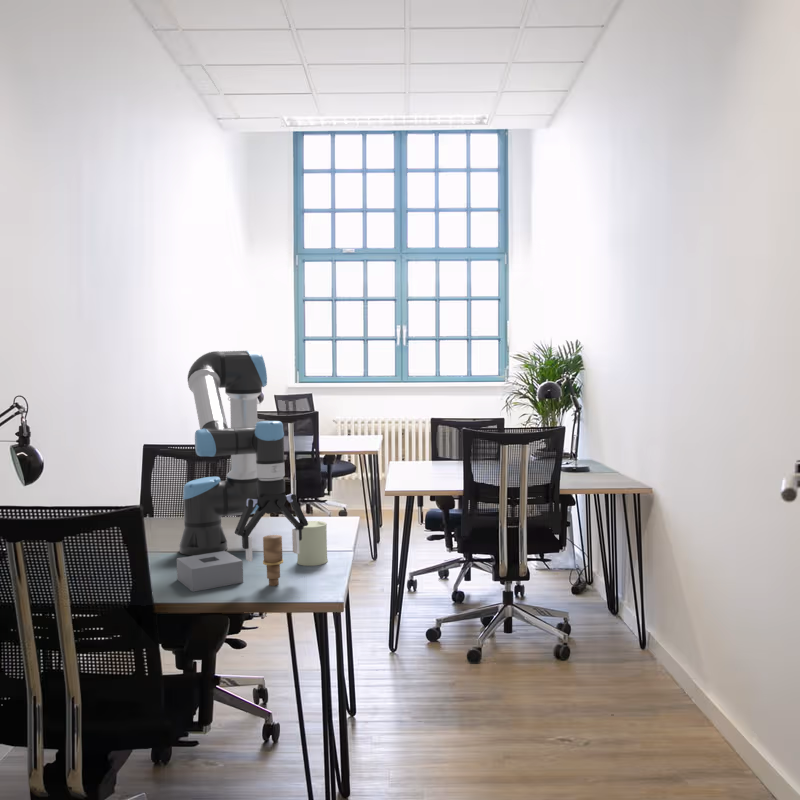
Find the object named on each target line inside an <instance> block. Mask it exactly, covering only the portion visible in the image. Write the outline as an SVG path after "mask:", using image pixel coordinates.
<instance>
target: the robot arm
mask: <svg viewBox="0 0 800 800" xmlns="http://www.w3.org/2000/svg"><path fill="white" fill-rule="evenodd" d="M187 385H188V388H189V390H190V392H191V393H192V394H193V397H194V398H193V399H194V404H195V409H196V414H197V418H198V419H197V420H198V426H199V429H197V430H195V432H194V447H195V454H196V455H197V456H199V457H210V458H213V457H222V456H230V461H231V464H230V466H231V467H230V469H231V470H230V471H229V472H228V473H226V479H225V480H221V478H220V476H215V475H214V476H207V477H201V478H197V479H193V480H190V481H187V482H186V483H185V484H184V485H183V496H182V500H183V516H184V517H183V518H184V519H183V521H184V524H183V526H184V528H183V532H182V534H181V535H182V536H181V538H180V542H179V545H178V547H179V553H180V554H181V555H183V556H185V555H186V556H195V555H202V554H208V553H214V552H221V551H226V550H227V549H228V540H227V536H226V534H225V531H224V529H223V526H222V517H231V516H240V519H239V520H238V523H237V526H236V527H235V531H234V534H235V535H237V536H238V537H239V536H240V537H241V544H242V545H241V546H242V549H244V550H245V560H246V561H247V562H253V539H252V536H250V535H251V534H252V532H253V530H255V528H256V526H257V524H258V523H259V522H260V520H261V519H262V517H264V516H265V514H268V515H269V514H273V513H275V514H276V513H277V514H278V513H280V512H281V514H282V515H283V516H284V517H285V518H286V519H287V520H288V522H290V524H291V525H293V528H291V533H292V537H291V538H292V541H291V542H292V553H294V554H296V555H298V554H299V541H300V540H302V529H303V528H304V526H307V525H308V522H307V518H306V516H305V515H304V512H303V511H302V510H303V509H301V507H300V505H299V502H298V499H297V498H298V497H297V494H295V493H292V492H291V493H290V492H289V494H287V495H286V479H285V478H284V477H285V475H286V473H285V469H286V468H285V441H284V440H285V439H284V438H285V432H284V424H283V422H282V421H280V420H262V421H258V397H259V396H260V395H261V394H262V392H263V390H262V389H263V388H265V387H267V385H268V374H267V368H266V364H265V360H264V356H263V355H262V354H261V353H260V352H259V351H254V350H232V351H231V350H228V351H218V350H217V351H209V352H207V353H204V354H202V355H200V357H198V358H197V359H196V360H195V361H194V362H193V363H192V365H191V366H190V368H189V371H188V373H187ZM221 388H222V389H223V388H224V389H225V390H224V391H225V394H226V395H227V396H228V397H229V400H230V401H229V402H230V403H229V405H230V408H229V409H230V410H229V411H230V427H229V426H228V421H227V418H226V414H225V411H224V405H223V401H222V397H221V394H220V393H221V392H220V390H219V389H221ZM286 502H288V503H289V504H290V506H291V508H292V510H293V511H294V514H295V516H296V517H295V516H294V515H293V514H292V512H290V510H289V509H288V508H287V507H286V505H285V503H286ZM251 515H253V516H252V517H251ZM250 517H251V518H250ZM249 518H250V520H249ZM297 519H298V520H297Z"/></svg>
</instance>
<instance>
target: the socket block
mask: <svg viewBox="0 0 800 800" xmlns="http://www.w3.org/2000/svg"><path fill="white" fill-rule="evenodd" d="M243 566H244V561H243V560H242V559H240V558H239V557H237V556H235V555H233V554H231V553H230V552H228V551H226V550H225V551H221V552H214V553H208V554H202V555H188V556H183V557H178V558H176V579H177V581H179V582H180V583H181V584H182V585H184V586H185V587H186V588H187V589H189V591H191V592H192V593H194V592H198V591H204V590H210V589H214V588H215V589H216V588H220V587H226V586H232V585H236V584H242V583H244V567H243Z"/></svg>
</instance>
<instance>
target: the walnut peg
mask: <svg viewBox="0 0 800 800" xmlns="http://www.w3.org/2000/svg"><path fill="white" fill-rule="evenodd" d="M262 545H263V547H262V548H263V549H262V551H263V561H262V564H263V565H265V566H266V578H267V580H268V585H269V587H278V586H279V581H280V580H279V579H280V578H281V564H283V563H284V558H283V536H282V535H279V534H269V535H265V536H263V537H262Z"/></svg>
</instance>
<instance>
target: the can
mask: <svg viewBox="0 0 800 800" xmlns="http://www.w3.org/2000/svg"><path fill="white" fill-rule="evenodd" d="M307 522H308V525H307V526H304V528H303V529H302V540H300V541H299V554H297V561H296V563H297V564H298V565H300V566H304V567H305V566H306V567H313V566H321V565H324V564H327V563H328V561H329V560H328V542H327V541H328V539H327V538H328V537H327V525H328V524H327V522H325V521H320V520H308V521H307Z"/></svg>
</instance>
